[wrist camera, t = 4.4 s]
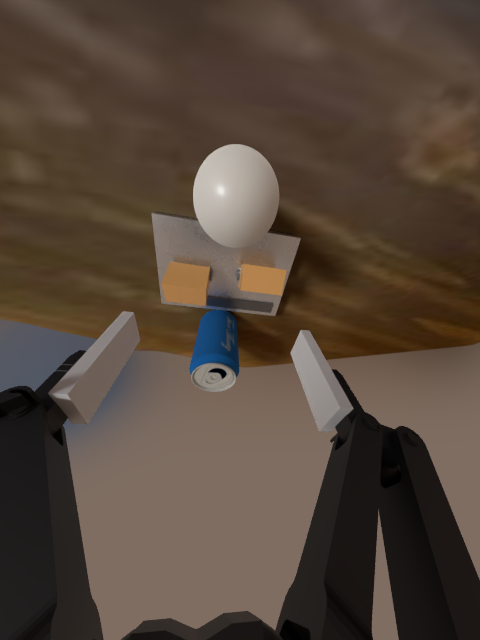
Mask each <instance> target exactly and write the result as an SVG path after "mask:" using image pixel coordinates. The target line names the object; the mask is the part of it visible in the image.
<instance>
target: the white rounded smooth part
mask: <svg viewBox="0 0 480 640" xmlns="http://www.w3.org/2000/svg"><path fill="white" fill-rule="evenodd" d="M193 203H194V209H195V212H196V216H197V218H198V221H199V223H200V225H201V226H202V228H203V229H204V231H205V232H206V233H207V234H208V236H210V237H211V238H212V239H213V240H214V241H216V242H217V243H219V244H221V245H224V246H226V247H231V248H242V247H247V246H250V245H252V244H254V243H256V242H257V241H259V240H260V239H261V238H262V237H263V236H264V235H265V234H266V233H267V232H268V231H269V229H270V228H271V226H272V224H273V222H274V220H275V218H276V214H277V211H278V206H279V188H278V183H277V179H276V176H275V173H274V171H273V169H272V167H271V165H270V164H269V162H268V161H267V160H266V159H265V158H264V157H263V156H262V155H261V154H260V153H259V152H258V151H256V150H254V149H253V148H251V147H248V146H245V145H239V144H232V145H227V146H223V147H221V148H219V149H217V150H215V151H214V152H212V153H211V154H210V155H209V156H208V157H207V158H206V159H205V161H204V162H203V163H202V165H201V167H200V168H199V171H198V173H197V175H196V179H195V183H194V188H193Z"/></svg>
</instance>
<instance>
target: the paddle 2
mask: <svg viewBox="0 0 480 640" xmlns="http://www.w3.org/2000/svg"><path fill="white" fill-rule="evenodd" d="M286 271H287V270H283V269H276V268H269V267H262V266H255V265H249V264H242V265H241V268H240V271H238V272H237V280H239V283H238V288H239V289H240V290H241V291H249V292H257V293H265V294H273V295H281V296H282V291H283V286H284V281H285V276H286Z"/></svg>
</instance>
